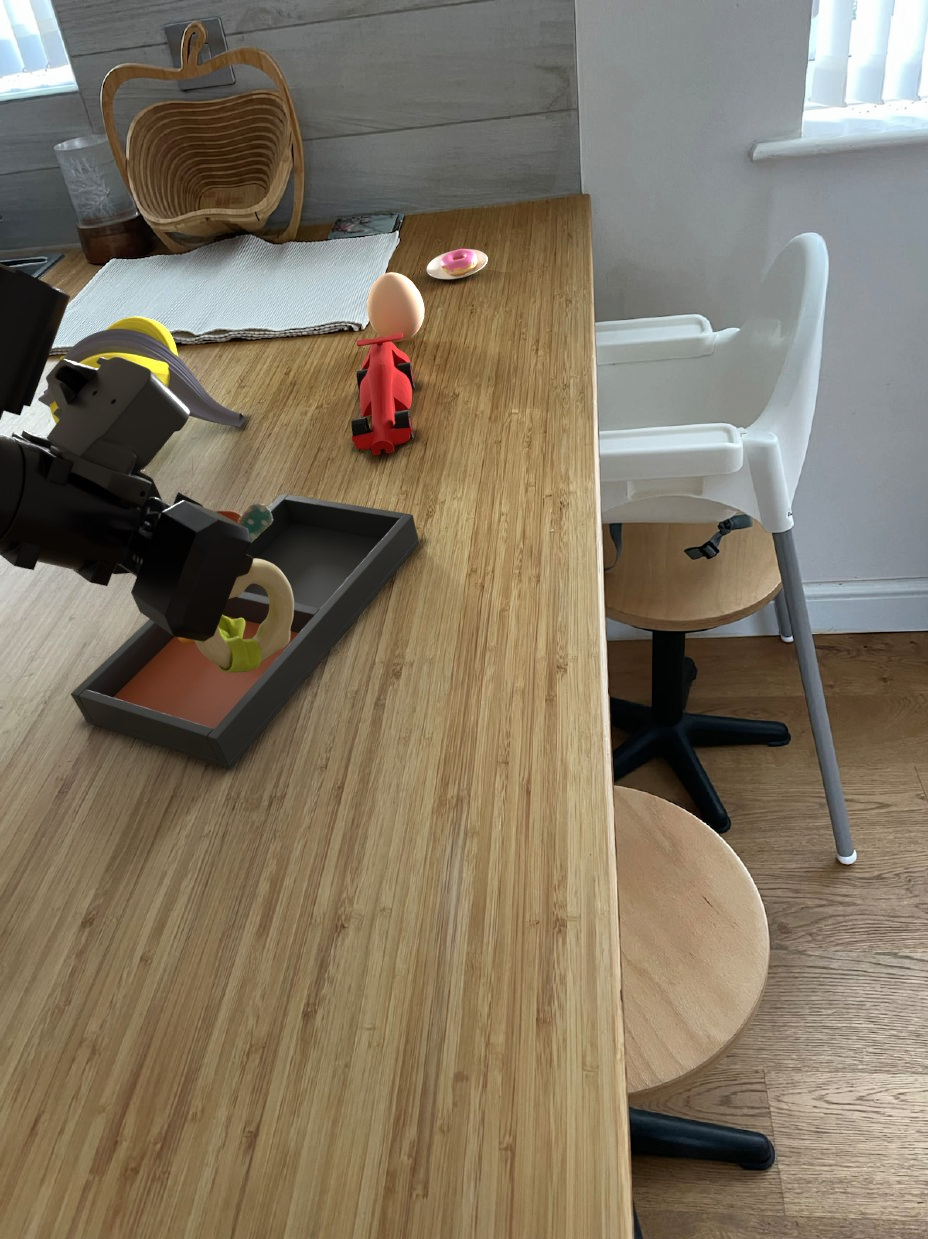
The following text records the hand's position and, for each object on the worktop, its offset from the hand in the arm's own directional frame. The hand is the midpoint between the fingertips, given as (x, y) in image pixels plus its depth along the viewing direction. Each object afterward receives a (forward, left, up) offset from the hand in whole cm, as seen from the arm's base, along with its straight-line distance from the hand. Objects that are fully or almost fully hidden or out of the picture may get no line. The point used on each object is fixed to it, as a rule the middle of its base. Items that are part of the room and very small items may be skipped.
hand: (241, 560), depth 59 cm
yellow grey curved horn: (+31, +41, -13) cm, 53 cm away
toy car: (+40, +16, -13) cm, 45 cm away
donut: (+79, +28, -13) cm, 85 cm away
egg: (+57, +24, -13) cm, 63 cm away
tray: (+7, +8, -13) cm, 17 cm away
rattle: (-1, +2, -7) cm, 8 cm away
